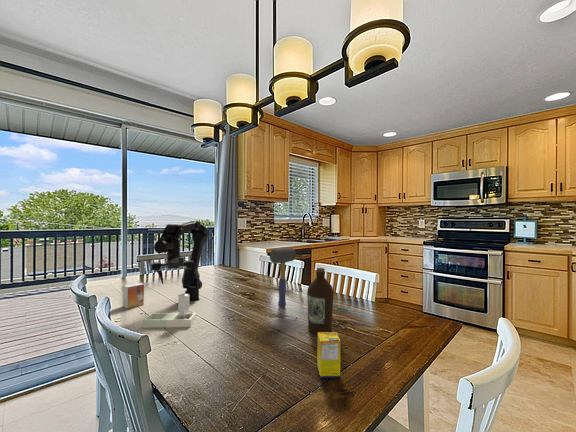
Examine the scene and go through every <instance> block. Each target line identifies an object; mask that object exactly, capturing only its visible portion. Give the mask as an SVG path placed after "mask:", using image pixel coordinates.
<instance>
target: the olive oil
mask: <svg viewBox="0 0 576 432" xmlns="http://www.w3.org/2000/svg"><path fill="white" fill-rule="evenodd" d="M306 293H307V294H306V295H307V325H308V327H307V328H308V329H309V330H308V331H309V332H310V333H311V332H312V334H314V333H315V334H314V335H318V332H333V331H332V330H333V329H332V327H333V310H334V309H333V307H334V297H335V295H334V293H335V292H334V288H333V286H332V285H331V283H330V282H329V281H328V280H327V278H326V272H325V268H324V267H317V268H316V278H315V279H314V280H313V281H312V282H311V283H309V285H308V288H307V292H306Z"/></svg>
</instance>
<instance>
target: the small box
mask: <svg viewBox="0 0 576 432" xmlns="http://www.w3.org/2000/svg"><path fill="white" fill-rule="evenodd" d="M144 303H145V284H144V283H141V282H137V283H132V284H131V283H130V284H126V285H125V284H123V285H122V307H123V308H125V309H132V308H136V307H141V306H145V305H144Z"/></svg>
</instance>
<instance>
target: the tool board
mask: <svg viewBox="0 0 576 432" xmlns="http://www.w3.org/2000/svg"><path fill="white" fill-rule="evenodd" d="M196 320H197V312H189V319H178V312H150V313H149V314H148V315H147V316H146V317H145V318H143V319H142V322H141V323H142V326H141V327H142V328H143V329H145V328H147V329H148V328H153V329H154V328H191V327H192V326H193V325H194V323H195V322H196Z"/></svg>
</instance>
